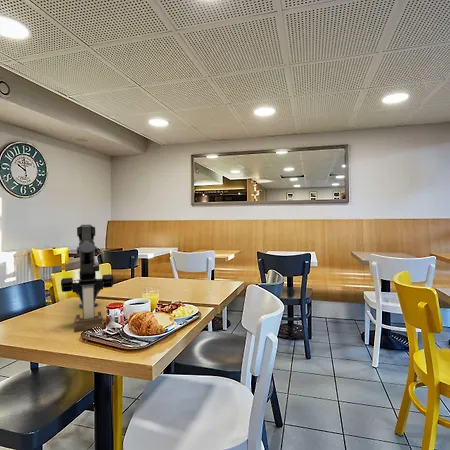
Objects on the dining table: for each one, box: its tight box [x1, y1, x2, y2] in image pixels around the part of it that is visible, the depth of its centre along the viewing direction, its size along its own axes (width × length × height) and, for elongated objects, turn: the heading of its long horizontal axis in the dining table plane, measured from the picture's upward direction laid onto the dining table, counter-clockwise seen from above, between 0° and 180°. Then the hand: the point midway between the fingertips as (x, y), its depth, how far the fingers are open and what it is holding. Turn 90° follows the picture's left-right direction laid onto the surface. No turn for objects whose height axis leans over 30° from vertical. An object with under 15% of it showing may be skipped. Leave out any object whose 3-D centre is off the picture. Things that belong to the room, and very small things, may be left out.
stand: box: [73, 311, 105, 333], centre depth 119 cm, size 12×10×4 cm
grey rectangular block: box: [82, 285, 96, 320], centre depth 119 cm, size 5×4×12 cm
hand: (88, 301), depth 118 cm, fingers closed on grey rectangular block, 4 cm apart
